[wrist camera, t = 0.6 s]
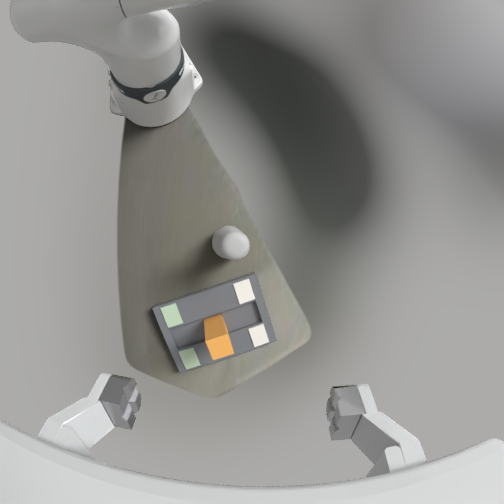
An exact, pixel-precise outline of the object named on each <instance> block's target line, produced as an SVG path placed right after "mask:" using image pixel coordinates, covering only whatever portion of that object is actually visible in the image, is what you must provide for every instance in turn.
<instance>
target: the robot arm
mask: <svg viewBox="0 0 504 504" xmlns="http://www.w3.org/2000/svg"><path fill="white" fill-rule="evenodd" d="M208 1H211V0H11V3H10V19H11V22H12V25H13V27H14V29H15V31H16V32H17V33H18V34H19V35H20V36H21V37H23V38H24V39H25V40H28V41H29V42H32V43H37V42H62V43H68V44H72V45H76V46H80V47H82V48H85V49H88V50H90V51H92V52H94V53H96V54H98V55H99V56H101V57H102V58H103V60H104V61H105V62H106V64H107V65H108V74H109V75H110V76H111V80H109V86H110V87H111V98H110V109H111V112H112V113H114V114H116V115H121V116H125V117H126V118H128V119H129V120H130V121H132V122H133V123H135V124H137V125H140V126H145V127H157V126H162V125H165V124H167V123H170V122H172V121H173V120H175V119H177V118H178V117H179V116H180V115H181V114H182V113H183V112H184V111H185V110H186V109H187V107H188V105H189V103H190V101H191V99H192V96H193V94H194V93H195V92H196V91H197V90H198V89H199V88H200V87H201V86H202V84H203V82H202V78H201V77H200V75H199V73H198V72H197V70H196V68H195V67H194V65H193V63H192V62H191V60H190V59H189V57H188V55H187V53H186V52H185V50H184V49H183V47H182V45H181V44H180V33H179V25H178V22H177V21H176V19H175V18H174V16H173V15H172V14H171V13H170V12H168V11H167V10H166V9H172V8H178V7H187V6H191V5H195V4H199V3H203V2H208ZM194 77H196V78H195V79H194ZM115 103H116V104H115ZM135 387H136V381H135V379H133V378H128V377H123V376H118V375H113V374H108V373H102V374H100V376H99V378H98V379H97V381H96V383H95V385H94V387H93V388H92V390H91V392H90V394H89V396H88V397H84V398H82V399H81V400H79V401H77V402H75V403H74V404H72V405H70V406H69V407H67V408H65V409H63V410H62V411H60V412H58V413H57V414H55V415H53V416H51V417H50V418H48V419H47V421H46V423H45V424H44V426H43V428H42V429H41V431H40V433H39V435H38V437H34V436H32V435H30V434H28V433H26V432H24V431H22V430H20V429H18V428H16V427H14V426H12V425H10V424H8V423H7V422H5V421H3V420H1V419H0V504H504V442H503V441H501V440H499V439H496V438H490V439H487V440H485V441H482V442H480V443H478V444H476V445H473V446H471V447H468V448H466V449H464V450H461V451H458V452H456V453H453V454H450V455H448V456H445V457H442V458H439V459H436V460H433V461H430V462H427V460H426V457H425V455H424V452H423V449H422V447H421V444H420V441H419V439H417V438H416V437H415V436H413V435H412V434H410V433H409V432H408V431H406V430H405V429H404V428H402V427H401V426H400V425H398V424H397V423H395V422H394V421H393V420H392V419H390V418H389V417H388V416H386V415H385V414H384V413H382V412H378V410H377V408H376V405H375V402H374V399H373V396H372V393H371V390H370V388H369V385H368V384H356V385H345V386H333V387H332V388H331V390H330V396H331V397H330V398H329V399H328V401H327V408H326V412H327V420H328V421H330V422H331V424H330V427H329V431H330V436H331V440H343V439H351V440H352V441H353V443H354V444H355V445H356V446H357V447H358V448H359V449H360V450H361V451H362V452H363V453H364V454H365V455H366V456H367V457H368V458H369V459H370V460H371V461H372V462H373V463H374V464H375V465H374V466H373V468H372V469H371V470H370V472H369V473H368V474H367V476H366V477H365V478H360V479H354V480H348V481H340V482H333V483H323V484H313V485H300V486H270V487H269V486H265V487H264V486H257V487H256V486H255V487H254V486H231V485H218V484H207V483H198V482H190V481H183V480H176V479H170V478H165V477H159V476H154V475H149V474H145V473H140V472H136V471H132V470H127V469H124V468H119V467H116V466H112V465H109V464H105V463H102V462H99V461H96V460H95V457H94V456H93V455H92V453H91V452H90V451H89V448H90V447H91V446H92V445H94V444H95V443H96V442H97V441H99V440H100V439H101V438H102V437H103V436H105V435H106V434H107V433H108V432H109V431H111V430H112V429H113V428H114V426H116V427H121V428H126V429H132V427H133V425H134V422H135V419H136V417H135V415H134V413H136V412H137V411H139V408H140V406H141V395H140V392H139V390H138V389H136V388H135Z"/></svg>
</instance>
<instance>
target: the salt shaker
mask: <svg viewBox="0 0 504 504" xmlns="http://www.w3.org/2000/svg"><path fill="white" fill-rule="evenodd" d="M212 247H213V249H214V251H215V252H216V254H217V255H219V256H220V257H222V258H226V259H229V260H236V261H237V260H239V259H242V258H244V257H245V256H246V255H247V253H248V251H249V248H250V246H249V240H248V238H247V237H246V235H245V234H243V233H241V231H240V230H239V229H237V228H235V227H233V226H224V227H222V228H219V229H218V230H217V231H216V232H215V233H214V236H213V239H212Z"/></svg>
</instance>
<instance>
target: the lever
mask: <svg viewBox="0 0 504 504" xmlns="http://www.w3.org/2000/svg"><path fill="white" fill-rule="evenodd" d="M204 330H205V342H206V344H207V347H208V349H209V352H210V354H211V356H212V359H213V360H216V359H219V358H222V357H225V356H228V355H231V354H234V351H233V347H232V344H231V340H230V337H229V334H228V330H227V327H226V325H225V322H224V319H223V316H222V314H218V315H215V316H212V317H209V318H206V319H204Z"/></svg>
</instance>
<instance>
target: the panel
mask: <svg viewBox="0 0 504 504" xmlns="http://www.w3.org/2000/svg"><path fill="white" fill-rule="evenodd" d="M152 309H153V311H154V314H155V316H156V319H157V321H158V324H159V326H160V329H161V331H162V333H163V336H164V338H165V341H166V343H167V345H168V347H169V350H170V352H171V354H172V356H173V359H174V361H175V363H176V365H177V367H178V370H179V372H180V373H181V372H184V371H188V370H191V369H194V368H198V367H201V366H204V365H208V364H211V363H214V362H217V361H220V360H223V359H226V358H229V357H232V356H235V355H238V354H241V353H244V352H247V351H250V350H253V349H255V348H258V347H261V346H264V345H266V344H269V343H272V342H275V341H277V340H276V336H275V333H274V330H273V327H272V324H271V321H270V317H269V314H268V311H267V308H266V305H265V302H264V298H263V295H262V292H261V289H260V286H259V282H258V279H257V276H256V274H255V273H254V272H253V273H250V274H247V275H244V276H241V277H238V278H235V279H232V280H229V281H226V282H223V283H220V284H217V285H214V286H211V287H208V288H205V289H202V290H199V291H196V292H193V293H190V294H187V295H184V296H181V297H178V298H175V299H172V300H169V301H166V302H163V303H160V304H157V305H154V306H153V308H152ZM218 314H222V316H223V319H224V322H225V325H226V327H227V330H228V334H229V337H230V340H231V344H232V347H233V351H234V354H231V355H228V356H225V357H222V358H219V359H216V360H213V359H212V356H211V354H210V352H209V349H208V347H207V344H206V342H205V330H204V319H206V318H209V317H212V316H215V315H218Z"/></svg>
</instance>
